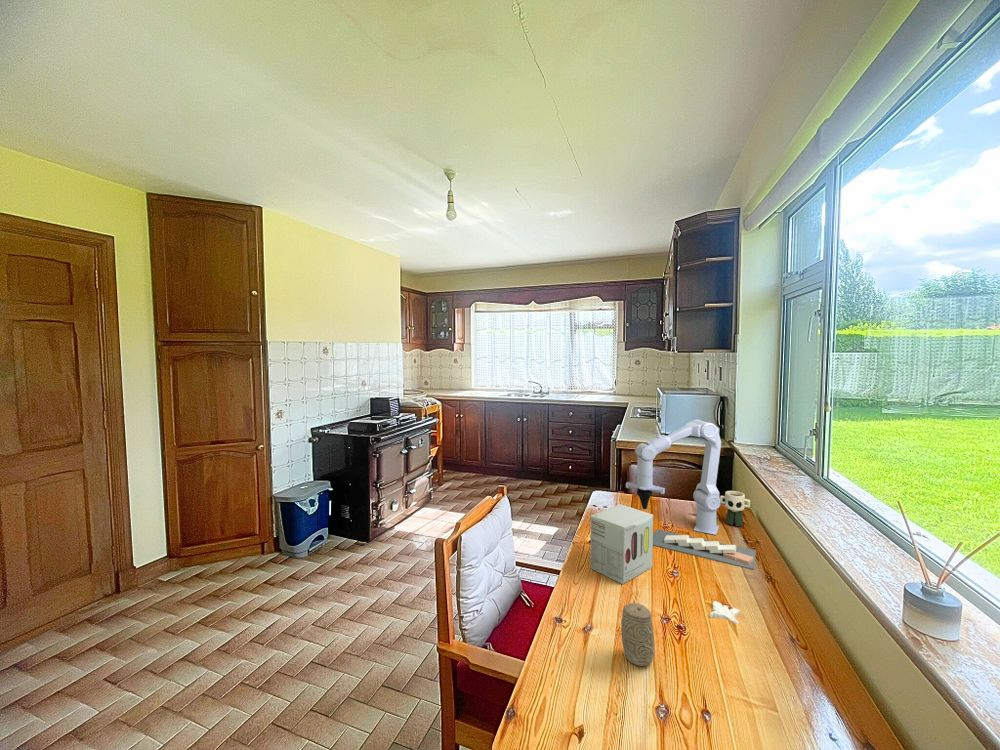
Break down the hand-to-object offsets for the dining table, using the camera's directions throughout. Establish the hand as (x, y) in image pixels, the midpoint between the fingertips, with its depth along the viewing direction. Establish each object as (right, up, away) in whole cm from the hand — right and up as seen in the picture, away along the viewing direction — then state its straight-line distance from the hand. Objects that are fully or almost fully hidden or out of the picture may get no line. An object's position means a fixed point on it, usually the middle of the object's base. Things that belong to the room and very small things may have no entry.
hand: (644, 508), depth 164 cm
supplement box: (-17, -12, -27) cm, 34 cm away
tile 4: (+18, -9, -16) cm, 26 cm away
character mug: (+40, -9, +7) cm, 42 cm away
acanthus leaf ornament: (+4, -13, -51) cm, 53 cm away
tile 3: (+13, -9, -13) cm, 21 cm away
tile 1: (+5, -9, -8) cm, 13 cm away
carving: (-26, -13, -68) cm, 74 cm away
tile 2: (+9, -9, -11) cm, 17 cm away
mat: (+16, -10, -13) cm, 23 cm away
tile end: (+22, -10, -19) cm, 30 cm away
